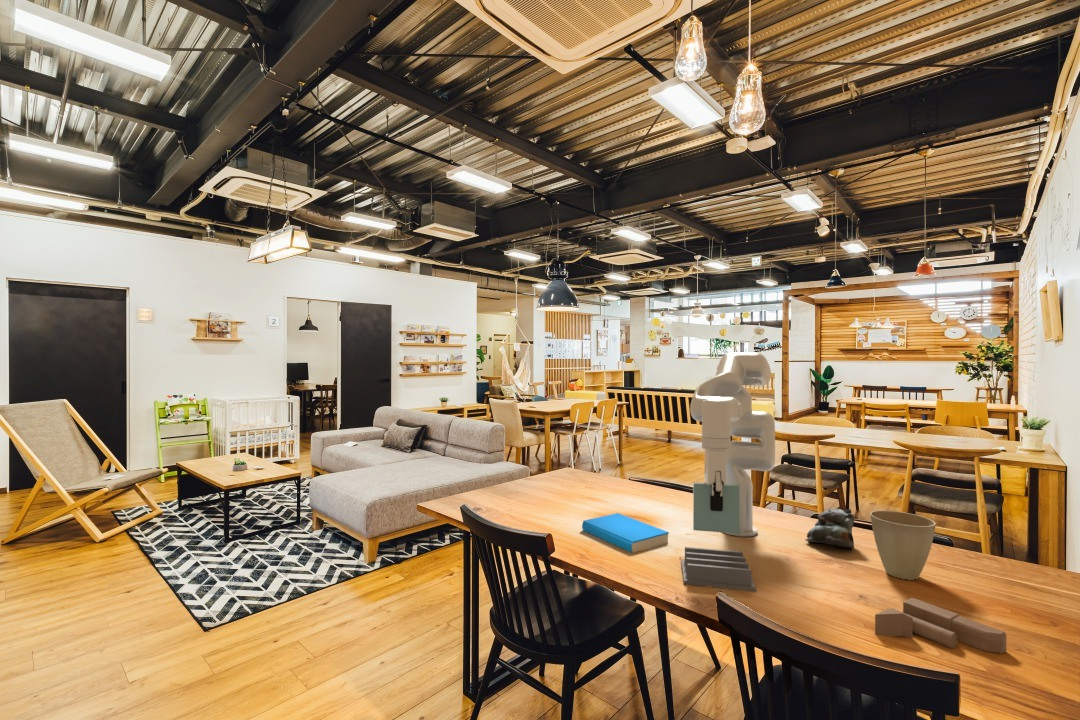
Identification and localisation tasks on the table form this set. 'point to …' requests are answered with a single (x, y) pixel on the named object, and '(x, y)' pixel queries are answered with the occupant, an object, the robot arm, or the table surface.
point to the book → (625, 532)
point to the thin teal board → (716, 519)
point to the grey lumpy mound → (833, 528)
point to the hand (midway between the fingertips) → (716, 509)
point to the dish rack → (717, 569)
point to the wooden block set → (938, 626)
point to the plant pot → (902, 542)
